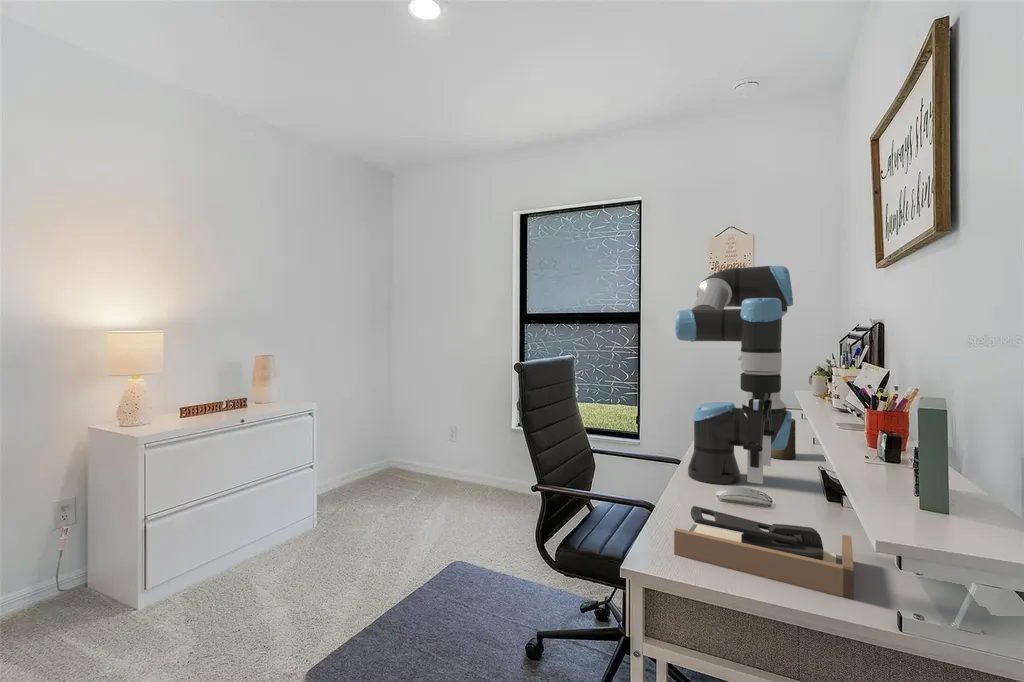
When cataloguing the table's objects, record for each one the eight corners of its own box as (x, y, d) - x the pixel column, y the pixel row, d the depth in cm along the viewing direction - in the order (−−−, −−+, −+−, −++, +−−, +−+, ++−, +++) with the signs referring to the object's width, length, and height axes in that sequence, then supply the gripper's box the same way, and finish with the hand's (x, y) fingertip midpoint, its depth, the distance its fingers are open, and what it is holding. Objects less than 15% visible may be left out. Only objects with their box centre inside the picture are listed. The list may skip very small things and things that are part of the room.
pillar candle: (801, 459, 170) (801, 417, 170) (774, 460, 170) (774, 417, 170) (785, 453, 180) (785, 412, 180) (759, 453, 180) (759, 412, 180)
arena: (693, 526, 115) (693, 505, 114) (850, 560, 98) (851, 536, 97) (674, 554, 101) (674, 530, 101) (853, 599, 84) (853, 571, 84)
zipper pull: (689, 503, 110) (815, 515, 102) (689, 532, 110) (815, 546, 102) (692, 518, 101) (829, 532, 94) (691, 550, 101) (829, 566, 94)
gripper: (749, 366, 113) (748, 456, 114) (730, 377, 92) (729, 487, 93) (786, 367, 109) (785, 461, 110) (774, 380, 88) (773, 494, 89)
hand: (759, 473), depth 102 cm, fingers open, 13 cm apart
